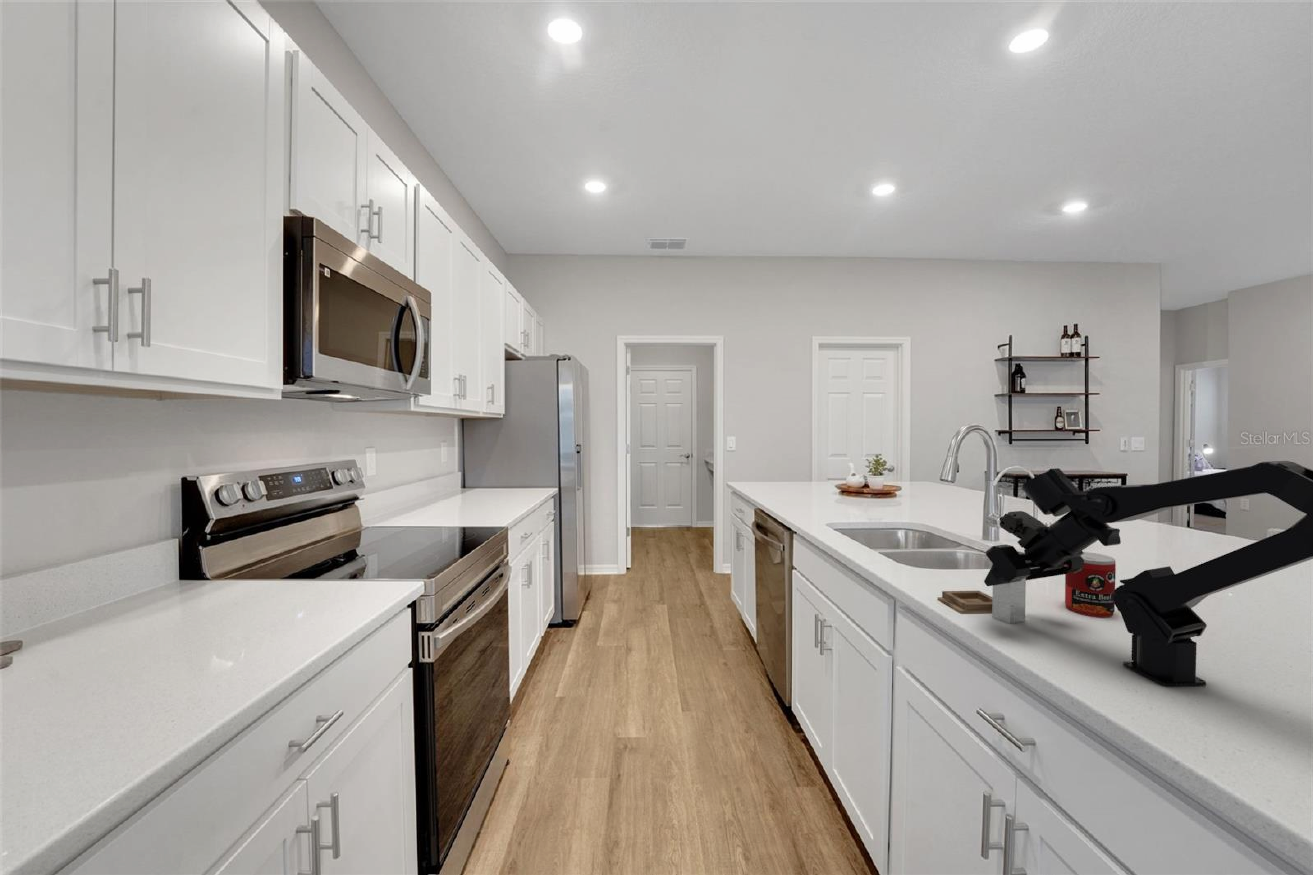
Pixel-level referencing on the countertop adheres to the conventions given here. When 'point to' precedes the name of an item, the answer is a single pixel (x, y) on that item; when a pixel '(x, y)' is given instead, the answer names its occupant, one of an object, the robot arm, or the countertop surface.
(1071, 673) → the countertop surface
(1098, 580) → the canned food
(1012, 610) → the grey dark-topped prism
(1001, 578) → the robot arm
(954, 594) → the brown square tray
